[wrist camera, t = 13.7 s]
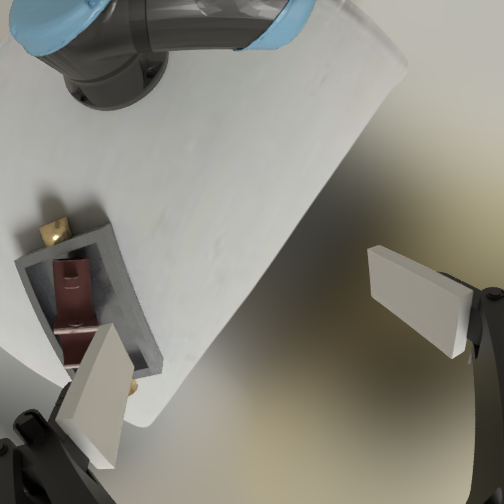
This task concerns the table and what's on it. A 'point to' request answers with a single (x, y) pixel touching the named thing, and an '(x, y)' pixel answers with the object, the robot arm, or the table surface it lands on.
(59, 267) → the bracket
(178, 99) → the table surface
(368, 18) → the table surface
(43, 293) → the cradle
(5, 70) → the table surface
